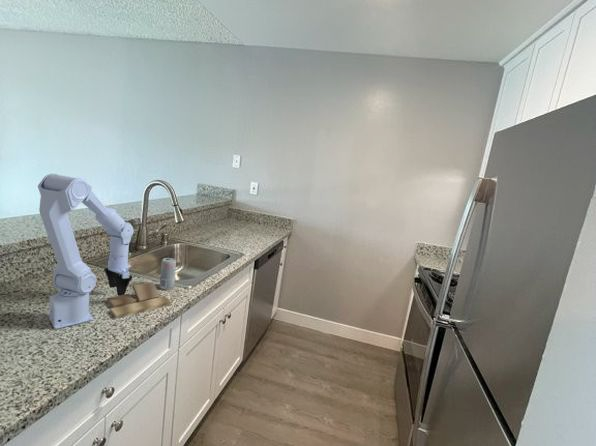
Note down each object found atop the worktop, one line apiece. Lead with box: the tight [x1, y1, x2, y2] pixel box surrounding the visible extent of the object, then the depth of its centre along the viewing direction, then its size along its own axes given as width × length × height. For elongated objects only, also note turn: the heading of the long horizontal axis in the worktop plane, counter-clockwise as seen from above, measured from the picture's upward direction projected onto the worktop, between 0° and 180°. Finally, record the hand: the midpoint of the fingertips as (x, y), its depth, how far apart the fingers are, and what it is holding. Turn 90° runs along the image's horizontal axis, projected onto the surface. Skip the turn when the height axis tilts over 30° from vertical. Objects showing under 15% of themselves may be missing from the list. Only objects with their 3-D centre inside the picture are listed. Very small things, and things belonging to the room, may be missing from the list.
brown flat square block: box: [106, 293, 137, 308], centre depth 105 cm, size 7×7×1 cm
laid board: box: [109, 296, 172, 319], centre depth 104 cm, size 18×6×1 cm, turn 140°
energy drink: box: [159, 257, 177, 291], centre depth 121 cm, size 5×5×12 cm
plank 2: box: [132, 281, 161, 302], centre depth 110 cm, size 7×7×1 cm
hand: (117, 290), depth 107 cm, fingers open, 7 cm apart
